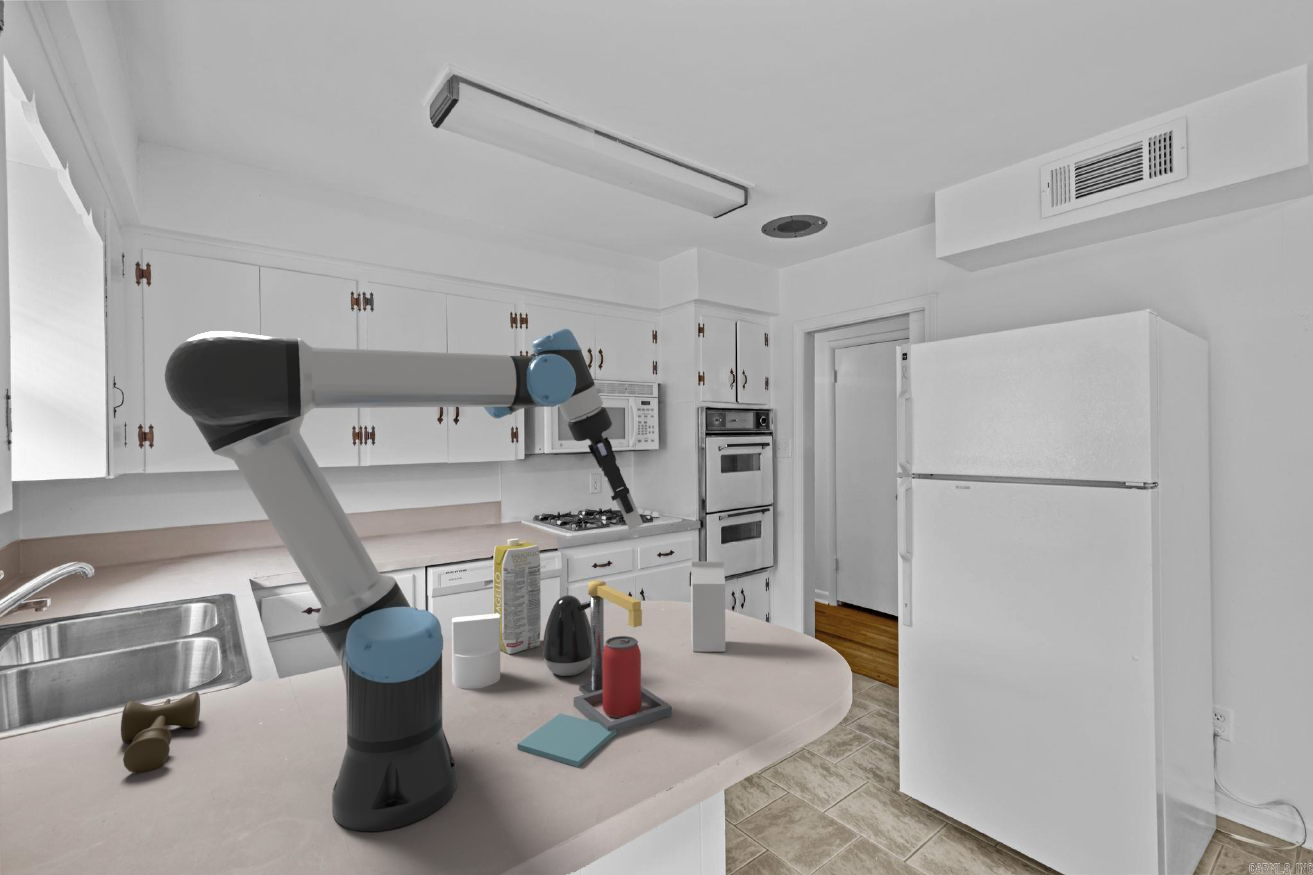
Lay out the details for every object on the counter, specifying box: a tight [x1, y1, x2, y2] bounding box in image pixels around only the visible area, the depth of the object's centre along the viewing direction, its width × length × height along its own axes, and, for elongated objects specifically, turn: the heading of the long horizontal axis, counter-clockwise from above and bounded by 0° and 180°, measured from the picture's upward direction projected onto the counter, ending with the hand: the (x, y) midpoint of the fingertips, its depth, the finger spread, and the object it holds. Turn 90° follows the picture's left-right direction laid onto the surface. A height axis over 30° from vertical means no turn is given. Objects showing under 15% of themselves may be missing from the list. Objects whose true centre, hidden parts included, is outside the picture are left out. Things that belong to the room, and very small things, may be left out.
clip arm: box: [587, 580, 643, 628], centre depth 106 cm, size 16×3×4 cm, turn 34°
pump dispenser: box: [542, 594, 591, 677], centre depth 121 cm, size 10×10×15 cm
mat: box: [516, 713, 617, 768], centre depth 94 cm, size 11×11×1 cm
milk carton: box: [690, 561, 726, 653], centre depth 134 cm, size 7×7×19 cm
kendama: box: [120, 691, 201, 774], centre depth 94 cm, size 6×10×20 cm
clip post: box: [578, 595, 605, 695], centre depth 111 cm, size 5×5×18 cm
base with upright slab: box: [451, 613, 501, 690], centre depth 117 cm, size 9×9×12 cm
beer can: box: [602, 635, 642, 719], centre depth 104 cm, size 7×7×12 cm
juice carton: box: [492, 538, 542, 655], centre depth 134 cm, size 9×8×24 cm
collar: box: [573, 685, 673, 734], centre depth 104 cm, size 12×12×2 cm
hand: (630, 515), depth 114 cm, fingers open, 13 cm apart
